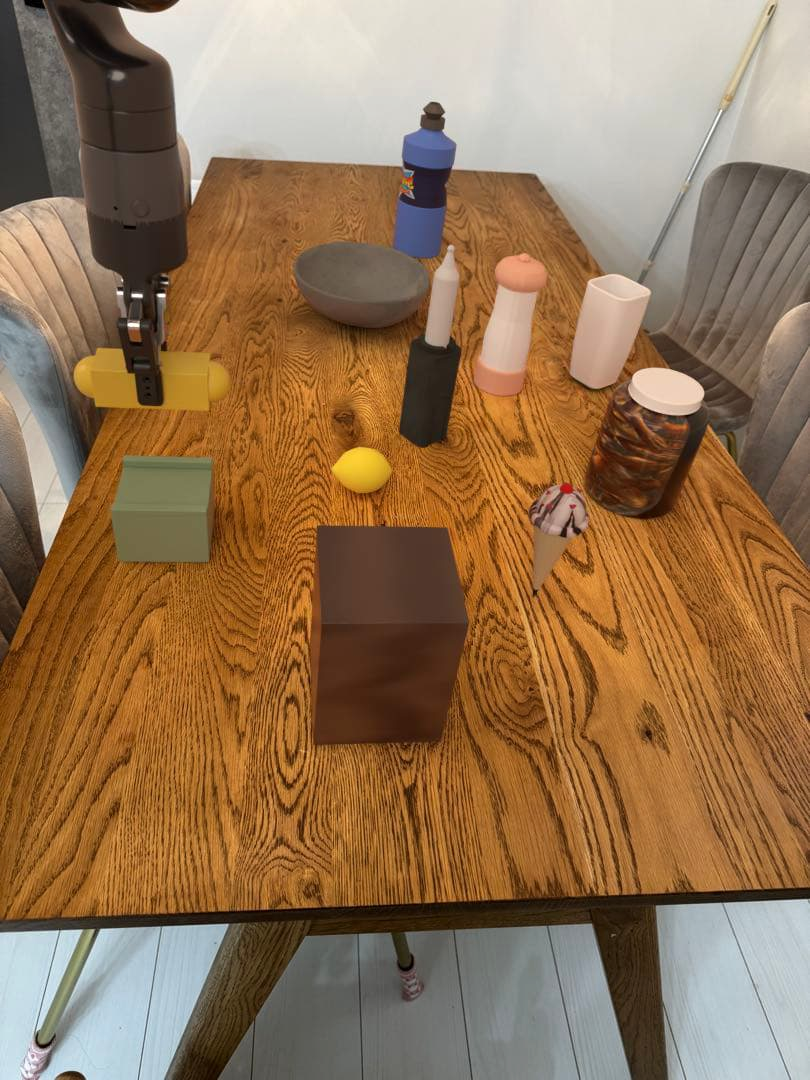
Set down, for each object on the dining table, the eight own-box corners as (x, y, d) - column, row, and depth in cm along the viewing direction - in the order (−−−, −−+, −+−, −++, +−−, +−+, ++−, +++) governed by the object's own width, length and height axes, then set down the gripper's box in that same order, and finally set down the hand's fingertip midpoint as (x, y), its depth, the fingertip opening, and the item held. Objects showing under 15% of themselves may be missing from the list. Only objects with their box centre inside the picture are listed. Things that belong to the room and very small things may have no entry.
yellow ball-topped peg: (73, 406, 73) (66, 368, 70) (81, 383, 76) (75, 346, 73) (230, 412, 75) (229, 375, 73) (232, 389, 78) (231, 353, 76)
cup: (625, 385, 123) (656, 292, 113) (593, 397, 119) (623, 301, 109) (589, 364, 127) (616, 272, 117) (557, 375, 123) (583, 280, 113)
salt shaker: (465, 371, 120) (489, 243, 108) (510, 369, 122) (538, 243, 110) (484, 397, 115) (511, 266, 103) (530, 394, 117) (562, 265, 105)
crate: (312, 745, 68) (321, 623, 59) (309, 646, 77) (316, 524, 67) (441, 741, 70) (469, 622, 60) (424, 645, 78) (447, 526, 69)
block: (118, 561, 82) (109, 509, 78) (130, 505, 89) (123, 454, 84) (209, 562, 84) (206, 511, 79) (214, 507, 90) (212, 457, 86)
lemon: (387, 476, 98) (392, 438, 95) (391, 504, 94) (396, 466, 91) (329, 474, 97) (332, 436, 94) (331, 502, 93) (333, 463, 90)
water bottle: (401, 258, 149) (418, 109, 133) (385, 238, 156) (400, 94, 140) (448, 257, 152) (470, 111, 136) (430, 238, 159) (450, 96, 143)
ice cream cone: (535, 572, 88) (569, 459, 79) (571, 604, 85) (612, 491, 75) (495, 590, 85) (526, 475, 76) (532, 625, 82) (569, 510, 72)
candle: (424, 419, 109) (452, 233, 93) (449, 437, 106) (483, 249, 90) (395, 429, 106) (419, 240, 90) (420, 449, 103) (450, 257, 87)
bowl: (437, 304, 136) (444, 258, 131) (407, 360, 121) (413, 309, 116) (317, 278, 139) (319, 231, 134) (272, 329, 123) (272, 278, 118)
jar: (677, 529, 97) (723, 423, 87) (580, 506, 98) (615, 399, 88) (675, 474, 106) (716, 372, 96) (586, 454, 107) (618, 351, 97)
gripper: (100, 167, 68) (123, 351, 80) (67, 230, 58) (98, 432, 69) (192, 174, 70) (201, 354, 81) (175, 238, 59) (189, 435, 70)
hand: (154, 389), depth 75 cm, fingers closed on yellow ball-topped peg, 4 cm apart
